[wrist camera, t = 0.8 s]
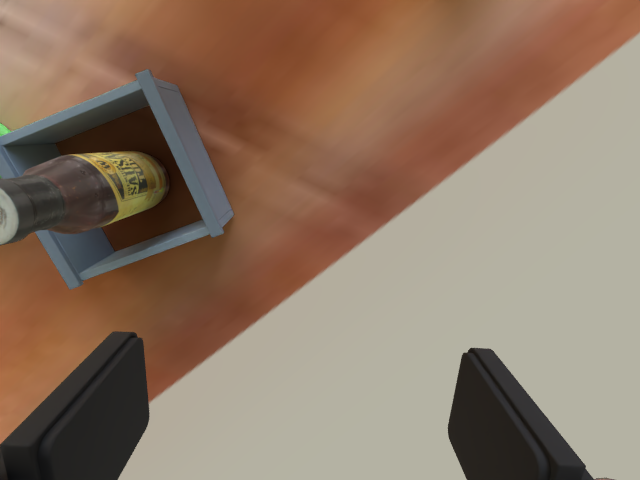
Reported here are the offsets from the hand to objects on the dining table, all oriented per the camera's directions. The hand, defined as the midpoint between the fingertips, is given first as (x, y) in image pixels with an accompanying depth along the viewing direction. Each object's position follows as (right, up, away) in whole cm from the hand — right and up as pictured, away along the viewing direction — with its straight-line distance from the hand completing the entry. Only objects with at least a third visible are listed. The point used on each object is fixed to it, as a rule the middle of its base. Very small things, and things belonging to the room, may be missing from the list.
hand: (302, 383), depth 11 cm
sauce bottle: (-19, +11, +30) cm, 37 cm away
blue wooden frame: (-19, +11, +30) cm, 37 cm away
